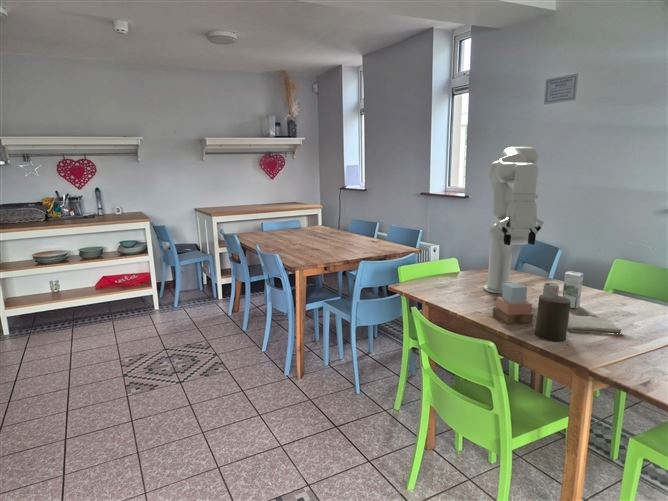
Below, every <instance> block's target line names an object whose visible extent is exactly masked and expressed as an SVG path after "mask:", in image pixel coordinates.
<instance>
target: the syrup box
mask: <svg viewBox="0 0 668 501" xmlns="http://www.w3.org/2000/svg"><path fill="white" fill-rule="evenodd" d="M583 281H584V273H583V272H579V271H578V272H577V271H573V270H567V271H566V272H565V273H564V280H563V287H562V288H563V289H562V295H561V296H562V297H566V298H569V299H570V300H571V304H570V309H572V308H574V309H573V310H577V309H578V308H579V307H580V304H581V295H582V288H583ZM576 308H577V309H576Z"/></svg>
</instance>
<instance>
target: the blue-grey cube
mask: <svg viewBox="0 0 668 501" xmlns="http://www.w3.org/2000/svg"><path fill="white" fill-rule="evenodd" d="M527 292H528V286H526V285H524V284H521V283H519V282H518V283H514V282H513V283H503V292H502V294H501V297H502V299H504V300H506V301H507V302H509V303H526V301H527Z"/></svg>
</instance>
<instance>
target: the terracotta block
mask: <svg viewBox="0 0 668 501" xmlns="http://www.w3.org/2000/svg"><path fill="white" fill-rule="evenodd" d="M495 301H496V303H495V307H497V308H498V309H500V310H501V311H503V312H504V313H505V314H507V315H519V314H532V303H531V302H529V301H528V300H526V303H509V302H507V301H506V300H504V299H502V296H496V300H495Z"/></svg>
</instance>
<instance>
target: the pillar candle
mask: <svg viewBox="0 0 668 501" xmlns="http://www.w3.org/2000/svg"><path fill="white" fill-rule="evenodd" d="M562 296H563V295H559V294H558V295H548V294H543V293H542V294H540V295H539V296H538V305H537V312H536V321H535V328H534V335H535V336H536V337H537V338H539V339H541V340H544V341H548V342H553V343H560V342H561V343H562V342H565V341H566V340H567V334H568V330H567V327H568V320H569V316H570V312H571V308H570V304H571V300H570V299H569V298H566V297H562Z"/></svg>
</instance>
